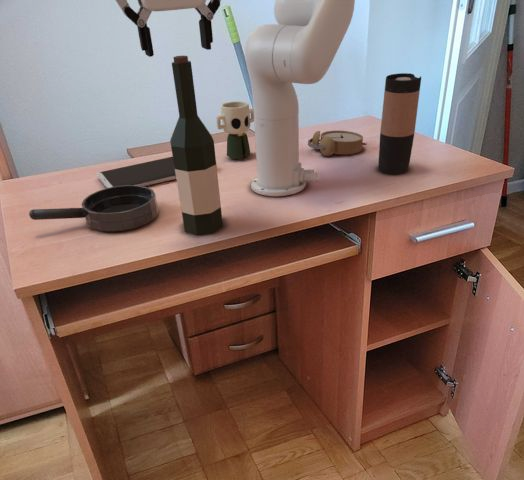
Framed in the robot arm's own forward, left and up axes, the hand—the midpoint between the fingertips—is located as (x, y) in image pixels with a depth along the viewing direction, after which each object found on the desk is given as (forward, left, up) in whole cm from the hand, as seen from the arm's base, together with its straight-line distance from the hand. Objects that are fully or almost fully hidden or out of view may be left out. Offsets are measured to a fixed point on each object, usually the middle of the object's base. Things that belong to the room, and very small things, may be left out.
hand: (178, 52), depth 82 cm
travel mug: (-38, -34, -31) cm, 60 cm away
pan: (+18, -3, -31) cm, 36 cm away
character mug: (+2, -42, -31) cm, 52 cm away
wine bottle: (0, 0, -31) cm, 31 cm away
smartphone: (+20, -28, -31) cm, 46 cm away
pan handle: (+29, +4, -29) cm, 41 cm away
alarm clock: (-23, -48, -31) cm, 62 cm away
